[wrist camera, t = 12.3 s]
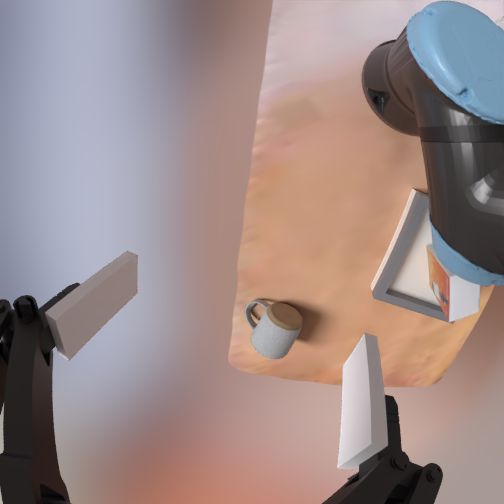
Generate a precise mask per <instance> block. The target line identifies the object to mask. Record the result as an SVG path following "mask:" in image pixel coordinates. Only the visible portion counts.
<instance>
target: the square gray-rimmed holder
mask: <svg viewBox="0 0 504 504" xmlns="http://www.w3.org/2000/svg"><path fill="white" fill-rule="evenodd" d="M429 208H430V207H429V196H428V195H426V194H423V193H421V192H419V191H417V190H415V189H412V191H411V193H410V196H409V199H408V201H407V204H406V207H405V209H404V212H403V214H402V217H401V220H400V222H399V224H398V227H397V229H396V232H395V234H394V236H393V239H392V241H391V243H390V246H389V248H388V250H387V252H386V255H385V257H384V259H383V261H382V263H381V265H380V268H379V270H378V272H377V274H376V276H375V278H374V280H373V282H372V284H371V289H372V294H373V298H374V299H377V300H380V301H384V302H387V303H390V304H393V305H396V306H399V307H402V308H405V309H408V310H411V311H415V312H418V313H421V314H424V315H427V316H430V317H433V318H437V319H440V320H443V321H446V322H448V320H447V318H446V316H445V314H444V312H443V310H442V308H441V306H440V304H439V302H438V300H437V298H436V296H435V294H434V293H433V291H432V289H431V287H430V284H429V269H428V257H427V250H426V245H429V244H432V232H431V225H430V222H429V218H428V210H429ZM449 323H452V324H453V323H454V321H452V322H449Z"/></svg>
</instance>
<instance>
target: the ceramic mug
mask: <svg viewBox="0 0 504 504" xmlns="http://www.w3.org/2000/svg"><path fill="white" fill-rule="evenodd" d="M256 303H257V304H260V305H262V306H263V307H264V308H266V310H265V312H264V313H263V315H262V317H261V319H260V321H259V322H258V324H256V323H255V322H254V320H253V319H252V317H251V313H250V312H251V309H252V307H253V306H254V305H255V304H256ZM245 318H246V320H247V322H248V324H249V325H250V326H251V328H252V329H253V330H254V331H253V332H252V334H251V343H252V345H253V347H254V348H255V349H256V351H258V352H259V353H260V354H261V355H263V356H265V357H267V358H271V359H280V358H283V357H284V356H286V355H287V353H288V352H289V350H290V348H291V347H292V345H293V343H294V341H295V340H296V338H297V336H298V335H299V333H300V331H301V328H302V326H303V319H302V316H301V315H300V313H299V312H298V311H297V310H296V309H295V308H293V307H291V306H289V305H287V304H284V303H274V304H272V305H270V304H268V303H267V302H266V301H263V300H261V299H256V300H254V301H252V302H250V303H249V304H248V305H247V307H246V309H245Z"/></svg>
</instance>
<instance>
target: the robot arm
mask: <svg viewBox="0 0 504 504" xmlns="http://www.w3.org/2000/svg"><path fill="white" fill-rule="evenodd" d="M362 86H363V91H364V94H365V97H366V99H367V101H368V103H369V105H370V107H371V108H372V110H373V111H374V113H375V114H376V115H377V116H378V117H379V118H380V119H381V120H382V121H383V122H384V123H385V124H387V125H388V126H390V127H391V128H393V129H395V130H397V131H399V132H401V133H404V134H408V135H415V136H420V138H421V146H422V151H423V157H424V163H425V170H426V178H427V186H428V195H429V207H430V208H429V210H428V218H429V222H430V225H431V232H432V244H433V248H434V250H435V253H436V255H437V257H438V259H439V260H440V261H441V263H442V264H443V265H444V266H445V267H446V268H447V269H448V270H449V271H451V272H452V273H453V274H455V275H457V276H458V277H460V278H462V279H464V280H466V281H468V282H471V283H474V284H478V285H482V286H490V285H491V283H493V284H495V285H496V286H503V285H504V31H503V29H502V28H501V27H500V26H497V25H496V24H495V23H494V22H493V21H492V20H491V19H490V18H489V17H488V16H486V15H485V14H483V13H482V12H480V11H479V10H477V9H475V8H473V7H471V6H468V5H466V4H463V3H459V2H455V1H437V2H434V3H431V4H429V5H427V6H426V7H425V8H424V9H422V10H421V11H420V12H418V13H416V14H415V15H414V16H412V18H411V20H409V22H408V24H407V26H406V27H405V28H404V30H403V31H402V33H401V34H400V36H399V37H398V38H397V40H391V41H387V42H384V43H382V44H380V45H379V46H377V47H376V48H375V49H374V50H373V51H372V52H371V53H370V55H369V56H368V58H367V60H366V62H365V64H364V66H363V71H362ZM137 260H138V255H136V254H134V253H131V252H129V251H127V252H125V253H124V254H122V255H121V256H119V257H118V258H116V259H115V260H114V261H113V262H111V263H109V264H108V265H107V266H105V267H104V268H102V269H101V270H100V271H98V272H97V273H96V274H94V275H93V276H92V277H90V278H89V279H88V280H86V281H85V282H84V283H82V284H79V283H75V284H72V285H70V286H68V287H66V288H65V289H64V290H62V292H60V293H58V294H57V296H55V297H53V298H52V299H51V300H50V301H48V302H47V303H46V304H44V305H43V306H42V307H41V308H39V309H38V306H37V303H36V300H35V298H33V297H32V296H29V295H25V296H21V297H19V298H18V299H16V300H15V301H14V303H13V306H14V309H15V310H13V309H12V308H11V305H10V303H9V301H7V300H5V299H2V300H0V340H1V338H2V340H1V342H0V414H1V411H2V407H3V403H4V422H3V424H4V425H3V432H4V433H3V435H4V451H3V453H1V454H0V488H1V495H2V501H3V504H71V503H70V500H69V496H68V492H67V488H66V486H65V483H64V482H63V480H62V478H61V475H60V471H59V465H58V459H57V452H56V444H55V434H54V422H53V402H52V369H53V368H52V367H53V350H52V349H53V348H54V347H55V346H56V348H57V351H58V353H59V354H60V355H61V356H63V357H64V358H65V359H67V360H68V361H70V360H71V358H72V357H73V356H74V355H75V354H76V353H77V352H78V351H79V350H80V349H81V348H82V347H83V346H84V345H85V344H86V343H87V342H88V341H89V340H90V339H91V338H92V337H93V336H94V335H95V334H96V333H97V332H98V331H99V330H100V329H101V328H102V327H103V326H104V325H105V324H106V323H107V322H108V321H109V320H110V319H111V318H112V317H113V316H114V315H115V314H116V313H117V312H118V311H119V310H120V309H121V308H122V307H123V306H124V305H126V304H127V302H128V301H130V300H131V299H132V298H133V297H134V296H135V295H136V294H137V264H138V262H137ZM357 466H359V472H358V473H357V474H355V475H353V476H351V477H350V478H348V480H349V481H348V482H347V483H346V484H344V485H343V486H342V487H341V488H340V489H339V490H338V491H337V492H335V493H334V494H333V495H332V496H331V497H329V498H328V499H327V500H326V501H325V502H323V503H322V504H434V502H435V499H436V496H437V494H438V491H439V488H440V485H441V482H442V478H443V473H442V470H441V468H440V467H439V466H438V465H437V464H434V463H430V464H428V465H426V466H424V467H422V466H419V465H417V464H414V463H411V462H410V461H409V458H408V456H407V455H406V453H405V452H403V451H402V449H401V436H400V424H399V416H398V405H397V403H396V401H395V399H394V397H393V396H388V395H385V394H384V385H383V376H382V368H381V361H380V354H379V347H378V341H377V336H374V335H370V334H367V333H364V335H363V336H362V338H361V339H360V341H359V343H358V344H357V346H356V347H355V349H354V350H353V352H352V353H351V355H350V356H349V358H348V359H347V361H346V362H345V364H344V365H343V392H342V418H341V433H340V446H339V456H338V466H337V468H342V469H354V468H356V467H357Z"/></svg>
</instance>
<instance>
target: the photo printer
mask: <svg viewBox="0 0 504 504" xmlns="http://www.w3.org/2000/svg"><path fill="white" fill-rule="evenodd" d="M494 23H495V24H496V25H497V26H500V27H501V28H502V29H503V31H504V16H503V17H501V18H500V19H498V20H496V21H494Z"/></svg>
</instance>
